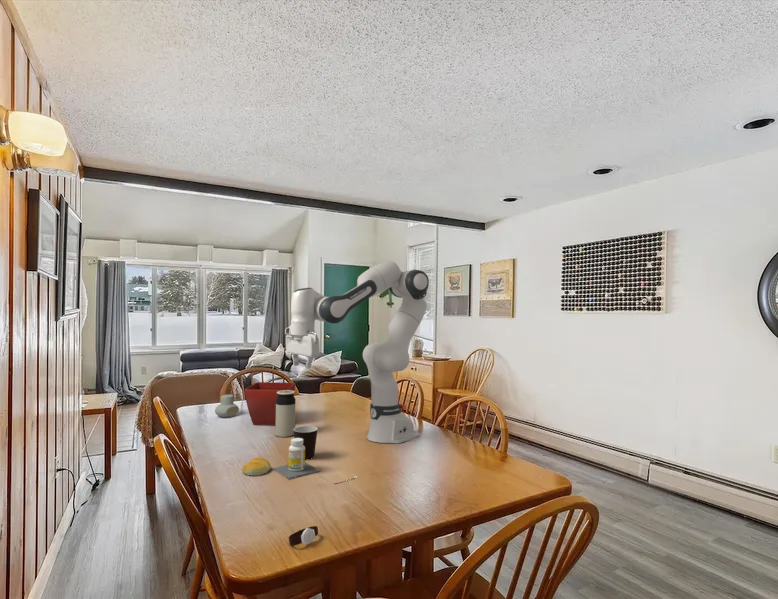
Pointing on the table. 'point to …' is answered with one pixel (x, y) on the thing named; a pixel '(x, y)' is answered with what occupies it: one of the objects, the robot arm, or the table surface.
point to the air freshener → (227, 407)
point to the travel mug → (285, 413)
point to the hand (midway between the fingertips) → (302, 366)
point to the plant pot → (264, 401)
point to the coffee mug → (307, 439)
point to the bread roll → (256, 467)
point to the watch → (303, 536)
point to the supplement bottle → (296, 455)
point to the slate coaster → (293, 474)
